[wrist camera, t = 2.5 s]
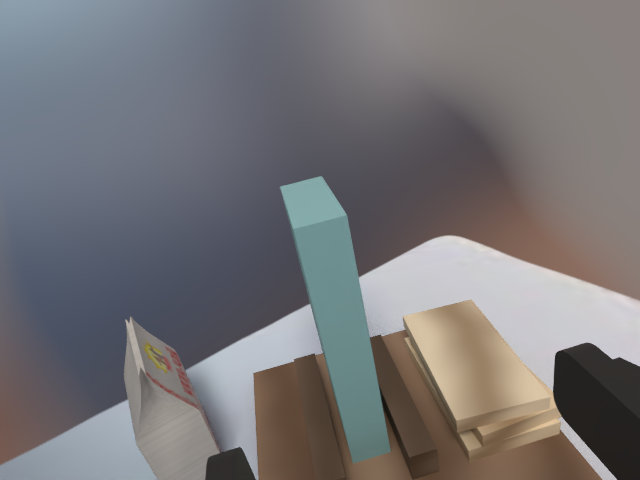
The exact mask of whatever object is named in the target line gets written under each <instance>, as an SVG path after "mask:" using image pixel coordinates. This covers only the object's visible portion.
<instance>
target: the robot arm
mask: <svg viewBox="0 0 640 480" xmlns="http://www.w3.org/2000/svg"><path fill="white" fill-rule="evenodd" d="M553 397H554V401H555V404H556V407H557V409H558V411H559V413H560V414H561V416H562V417H563V419H564V420H565V421H566V422H567V423H568V424H569V426H570V427H571V428H572V429H573V430H574V431H575V432H576V433H577V435H578V436H579V437H580V438H581V439H582V440H583V441H584V442H585V444H586V445H587V446H588V447H589V448H590V449H591V450H592V452H593V453H594V454H595V455H596V456H597V457H598V458H599V459H600V461H601V462H602V463H603V464H604V465H605V466H606V467H607V468H608V470H609V471H610V472H611V473H612V474H613V475H614V476H615V477H616V479H617V480H640V367H639V366H637V365H635V364H633V363H631V362H628V361H626V360H624V359H622V358H620V357H619V358H616V359H613V360H612V359H611V358H610V357H609V356H608V355H606V354H605V353H604V352H603V351H601V350H600V349H599V348H598V347H596V346H595V345H593V344H591V343H584V344H580V345H577V346H574V347H571V348H567V349H564V350H561V351H558V352H557V353H556V355H555V367H554V386H553ZM205 480H256V479H255V477H254V474H253V472H252V470H251V468H250V465H249V463H248V461H247V459H246V456H245V454H244V452H243V450H242V448H240V447H239V448H235V449H232V450H229V451H225V452H222V453H219V454H216V455H212V456H210V457H209V458H208V460H207V465H206V476H205Z"/></svg>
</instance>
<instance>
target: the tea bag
mask: <svg viewBox="0 0 640 480" xmlns="http://www.w3.org/2000/svg"><path fill="white" fill-rule="evenodd" d="M126 325H127V349H126V358H125V368H124V380H125V385H126V391H127V396H128V401H129V407H130V412H131V418H132V423H133V428H134V434H135V439H136V445H137V446H138V448H139V450H140V451H141V453H142V455H143V456H144V458H145V459H146V461H147V463H148V464H149V466H150V468H151V469H152V471H153V472H154V474H155V476H156V477H157V479H158V480H205V476H206V465H207V460H208V458H209V457H210V456H212V455H216V454H219V453H221V452H220V449H219V447H218V445H217V442H216V440H215V437H214V435H213V432H212V430H211V427H210V425H209V423H208V420H207V418H206V415H205V413H204V410H203V408H202V406H201V403H200V401H199V399H198V397H197V395H196V393H195V391H194V389H193V387H192V384H191V382H190V380H189V378H188V376H187V374H186V372H185V370H184V367H183V366H182V363H181V361H180V359H179V357H178V355H177V353H176V351H175V350H174V349H173V348H171V347H169V346H168V345H166V344H165V343H163V342H162V341H160V340H159V339H157V338H156V337H154V336H153V335H151V334H149V333H148V332H147V331H146V330H144V329H143V328H142V327H141V326H139V325H138V324H137V323H136V322H135V321H134V320H133V318H132V317H130V324H129V323H128V321H127V320H126Z"/></svg>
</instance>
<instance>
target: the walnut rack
mask: <svg viewBox="0 0 640 480" xmlns="http://www.w3.org/2000/svg"><path fill="white" fill-rule="evenodd" d="M407 337H409V335H408V333H407V331H406V330H403V331H400V332H396V333H393V334H389V335H386V336H382V337H381V335H378V336H374V337H371V338H370V342H371V348H372V353H373V358H374V364H375V369H376V374H377V380H378V385H379V390H380V396H381V401H382V407H383V412H384V417H385V423H386V428H387V433H388V439H389V444H390V449H391V452H389V453H386V454H383V455H379V456H376V457H373V458H370V459H366V460H363V461H360V462H357V463H353V462H352V458H351V454H350V451H349V447H348V443H347V440H346V436H345V433H344V429H343V425H342V422H341V418H340V415H339V411H338V407H337V404H336V400H335V397H334V393H333V389H332V385H331V382H330V378H329V374H328V370H327V366H326V362H325V358H324V354H319V355H316V356H315V354H311V355H308V356H304V357H301V358H297V359H294V362H291V363H288V364H284V365H281V366H277V367H274V368H270V369H267V370H263V371H260V372H256V373H253V374H254V395H255V415H256V435H257V456H258V476H259V480H602V479H601V478H600V476H599V475H598V474H597V473H596V472H595V470H594V469H593V468H592V467H591V466H590V464H589V463H588V462H587V461H586V460H585V459H584V457H583V456H582V455H581V454H580V453H579V451H578V450H577V449H576V448H575V447H574V445H573V444H572V443H571V442H570V441H569V440H568V438H567V437H566V436H565V435H564V434H563V432H562V431H561V430H560V434H557V435H554V436H551V437H548V438H544V439H541V440H538V441H535V442H532V443H528V444H525V445H522V446H519V447H516V448H513V449H509V450H506V451H503V452H500V453H497V454H493V455H490V456H487V457H484V458H481V459H478V460H474V461H471V462H469V461H468V459H467V457H466V455H465V454H464V452H463V450H462V448H461V446H460V445H459V443H458V441H457V439H456V438H455V436H454V434H453V432H452V430H451V429H450V427H449V425H448V423H447V421H446V420H445V418H444V416H443V414H442V412H441V411H440V409H439V407H438V405H437V403H436V402H435V400H434V398H433V396H432V394H431V393H430V391H429V389H428V387H427V385H426V384H425V382H424V380H423V378H422V377H421V375H420V373H419V371H418V369H417V368H416V366H415V364H414V362H413V360H412V359H411V357H410V355H409V353H408V351H407V350H406V347H405V340H404V338H407Z"/></svg>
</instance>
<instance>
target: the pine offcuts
mask: <svg viewBox="0 0 640 480" xmlns="http://www.w3.org/2000/svg"><path fill="white" fill-rule="evenodd" d="M403 322H404V327H405V329H406V331H407V333H408V335H409V337H407V338H404V340H405V347H406V350H407V351H408V353H409V355H410V357H411V359H412V360H413V362H414V364H415V366H416V368H417V369H418V371H419V373H420V375H421V377H422V378H423V380H424V382H425V384H426V385H427V387H428V389H429V391H430V393H431V394H432V396H433V398H434V400H435V402H436V403H437V405H438V407H439V409H440V411H441V412H442V414H443V416H444V418H445V420H446V421H447V423H448V425H449V427H450V429H451V430H452V432H453V434H454V436H455V438H456V439H457V441H458V443H459V445H460V446H461V448H462V450H463V452H464V454H465V455H466V457H467V459H468V461H469V462H471V461H474V460H478V459H481V458H484V457H487V456H490V455H493V454H497V453H500V452H503V451H506V450H509V449H513V448H516V447H519V446H522V445H525V444H528V443H532V442H535V441H538V440H541V439H544V438H548V437H551V436H554V435H557V434H560V424H561V422H560V421H559V420H558V418H560V417H562V416H561V414H560V413H559V411H558V409H557V407H556V404H555V401H554V397H553V392H552V391H551V390H550V389H549V388H548V387H547V386H546V385H545V384H544V383H543V382H542V381H541V380H540V379H539V378H538V377H537V376H536V375H535V374H534V373H533V372H532V371H531V370H530V369H529V368H528V367H527V366H526V365H525V364H524V363H523V362H522V361H521V360H520V359H519V357H518V356H517V355H516V354H515V353H514V351H513V350H512V349H511V348H510V346H509V345H508V344H507V343H506V341H505V340H504V339H503V338H502V337H501V335H500V334H499V333H498V332H497V330H496V329H495V328H494V327H493V325H492V324H491V323H490V322H489V321H488V319H487V318H486V317H485V316H484V314H483V313H482V312H481V311H480V310H479V308H478V307H477V306H476V305H475V303H474V302H473V301H472V300H467V301H463V302H459V303H455V304H451V305H447V306H443V307H439V308H435V309H431V310H427V311H423V312H419V313H415V314H411V315H406V316H403Z"/></svg>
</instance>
